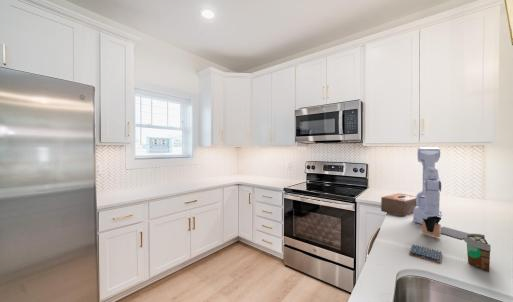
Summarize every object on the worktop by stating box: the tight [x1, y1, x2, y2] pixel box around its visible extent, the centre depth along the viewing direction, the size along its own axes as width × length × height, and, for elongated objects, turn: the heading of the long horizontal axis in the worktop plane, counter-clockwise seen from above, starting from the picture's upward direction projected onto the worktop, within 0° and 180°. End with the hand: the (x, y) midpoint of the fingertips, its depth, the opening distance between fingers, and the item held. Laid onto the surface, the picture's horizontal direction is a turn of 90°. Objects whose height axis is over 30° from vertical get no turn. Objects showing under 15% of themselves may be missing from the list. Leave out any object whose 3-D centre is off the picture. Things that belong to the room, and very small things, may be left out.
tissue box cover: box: [380, 192, 417, 218], centre depth 152 cm, size 26×14×10 cm, turn 124°
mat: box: [441, 226, 470, 241], centre depth 112 cm, size 12×12×1 cm
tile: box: [421, 221, 442, 239], centre depth 107 cm, size 7×2×6 cm, turn 26°
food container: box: [463, 233, 492, 273], centre depth 82 cm, size 12×6×10 cm, turn 141°
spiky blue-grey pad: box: [408, 243, 443, 264], centre depth 89 cm, size 10×11×2 cm
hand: (431, 231), depth 107 cm, fingers closed on tile, 2 cm apart
